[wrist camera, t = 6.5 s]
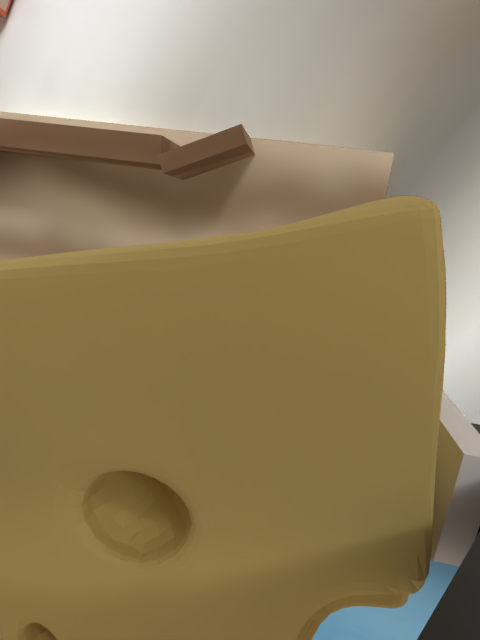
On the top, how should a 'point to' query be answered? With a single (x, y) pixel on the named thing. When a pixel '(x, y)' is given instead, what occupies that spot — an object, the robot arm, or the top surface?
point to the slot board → (164, 184)
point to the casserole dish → (390, 613)
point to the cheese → (221, 429)
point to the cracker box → (4, 7)
